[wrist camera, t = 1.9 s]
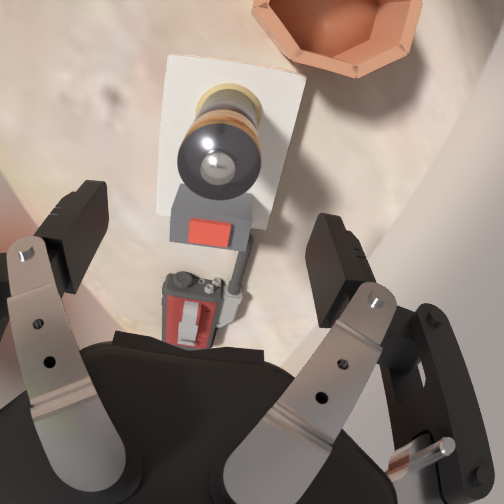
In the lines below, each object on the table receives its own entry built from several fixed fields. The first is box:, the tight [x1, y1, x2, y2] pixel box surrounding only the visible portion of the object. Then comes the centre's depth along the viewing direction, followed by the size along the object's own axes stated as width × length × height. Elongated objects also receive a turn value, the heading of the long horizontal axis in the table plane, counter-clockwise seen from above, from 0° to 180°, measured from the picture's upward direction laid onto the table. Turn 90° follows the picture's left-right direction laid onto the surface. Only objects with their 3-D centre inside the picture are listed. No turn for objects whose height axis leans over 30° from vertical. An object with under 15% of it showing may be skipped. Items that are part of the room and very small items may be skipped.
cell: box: [177, 89, 262, 200], centre depth 18 cm, size 4×4×10 cm
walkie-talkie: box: [162, 234, 253, 351], centre depth 35 cm, size 9×4×20 cm
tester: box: [156, 54, 307, 252], centre depth 23 cm, size 14×10×6 cm
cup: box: [252, 0, 422, 79], centre depth 15 cm, size 10×10×6 cm
